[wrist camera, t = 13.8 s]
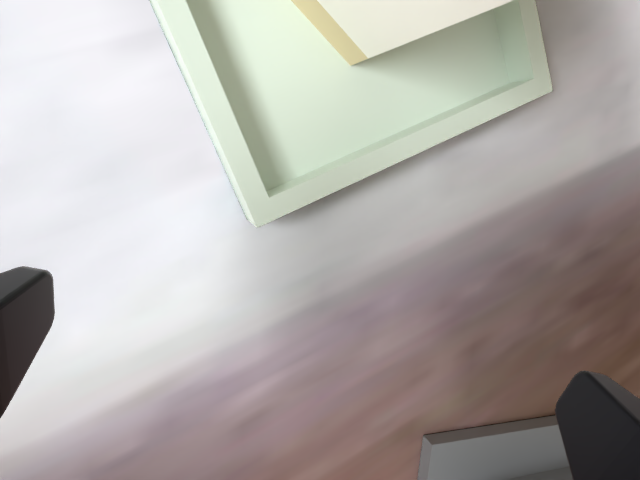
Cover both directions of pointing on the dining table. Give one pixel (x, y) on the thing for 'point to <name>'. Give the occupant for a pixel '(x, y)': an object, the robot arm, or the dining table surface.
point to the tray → (340, 93)
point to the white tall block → (385, 21)
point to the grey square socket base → (497, 453)
